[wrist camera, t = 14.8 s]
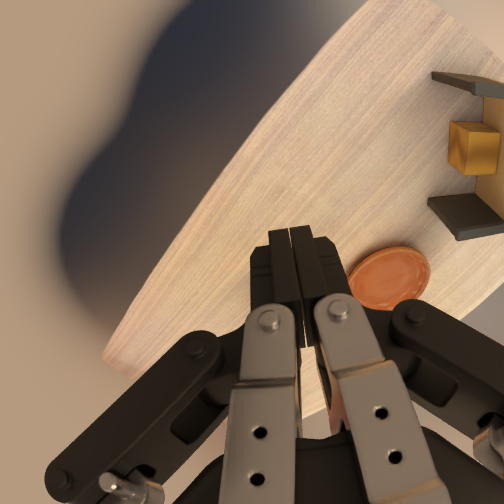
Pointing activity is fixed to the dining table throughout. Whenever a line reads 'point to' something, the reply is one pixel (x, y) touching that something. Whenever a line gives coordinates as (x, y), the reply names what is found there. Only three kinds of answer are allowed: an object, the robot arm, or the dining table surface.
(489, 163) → the box
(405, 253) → the saucer
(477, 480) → the robot arm
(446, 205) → the small wooden bench
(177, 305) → the dining table surface
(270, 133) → the dining table surface
